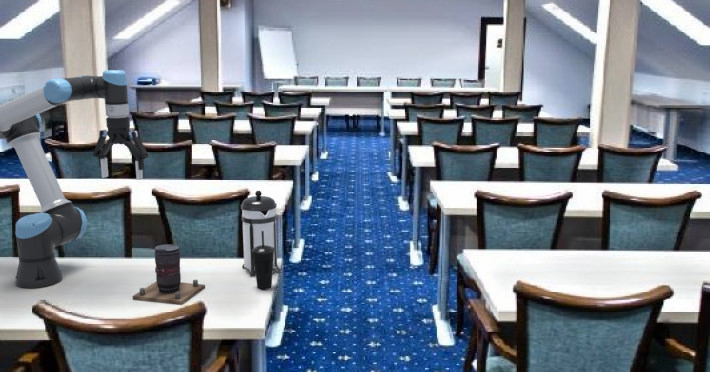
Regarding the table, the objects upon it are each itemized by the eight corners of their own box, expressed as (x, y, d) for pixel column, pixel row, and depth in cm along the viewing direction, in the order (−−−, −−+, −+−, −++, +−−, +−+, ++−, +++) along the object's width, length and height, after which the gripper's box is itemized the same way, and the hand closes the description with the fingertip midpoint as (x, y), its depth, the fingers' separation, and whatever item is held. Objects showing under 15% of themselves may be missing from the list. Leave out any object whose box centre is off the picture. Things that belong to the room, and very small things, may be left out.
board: (132, 299, 238) (131, 290, 237) (158, 283, 253) (157, 274, 252) (181, 304, 233) (181, 295, 232) (205, 288, 248) (204, 279, 247)
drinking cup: (279, 285, 251) (277, 229, 246) (269, 292, 244) (267, 235, 239) (259, 282, 253) (257, 227, 249) (249, 289, 246) (247, 233, 242)
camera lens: (175, 295, 238) (172, 251, 235) (152, 293, 240) (149, 250, 237) (185, 286, 246) (183, 244, 243) (163, 285, 247) (161, 243, 244)
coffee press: (290, 266, 270) (288, 187, 264) (267, 279, 256) (265, 196, 250) (251, 260, 278) (248, 183, 271) (226, 272, 263) (223, 192, 257)
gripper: (79, 116, 245) (84, 178, 249) (144, 118, 238) (148, 182, 242) (92, 114, 252) (97, 174, 256) (156, 116, 245) (160, 177, 249)
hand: (122, 178), depth 249 cm, fingers open, 13 cm apart
